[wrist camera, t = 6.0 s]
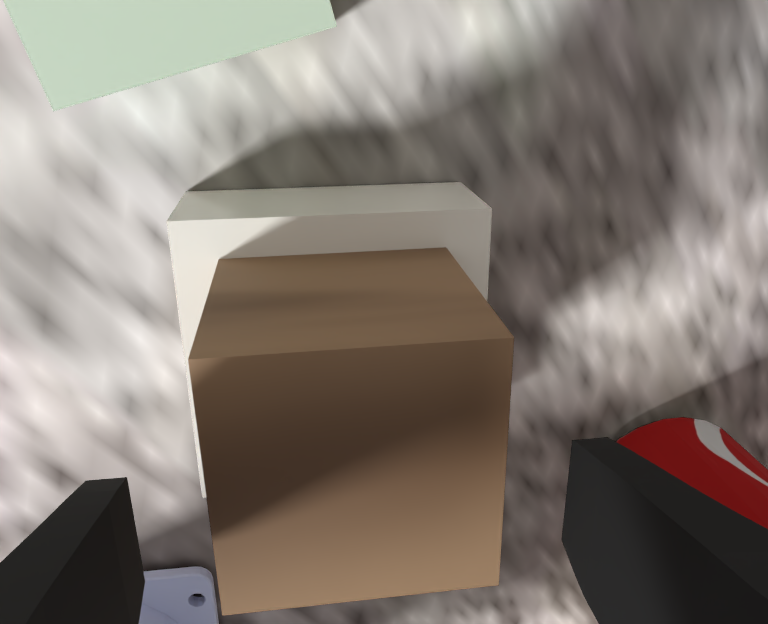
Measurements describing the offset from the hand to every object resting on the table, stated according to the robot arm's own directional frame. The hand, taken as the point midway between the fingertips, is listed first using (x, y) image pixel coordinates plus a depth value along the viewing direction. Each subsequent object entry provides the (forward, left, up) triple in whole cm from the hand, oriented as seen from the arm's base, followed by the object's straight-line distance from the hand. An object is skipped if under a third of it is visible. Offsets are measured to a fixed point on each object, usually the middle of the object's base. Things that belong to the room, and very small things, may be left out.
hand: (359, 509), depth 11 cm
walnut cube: (0, 0, -5) cm, 5 cm away
